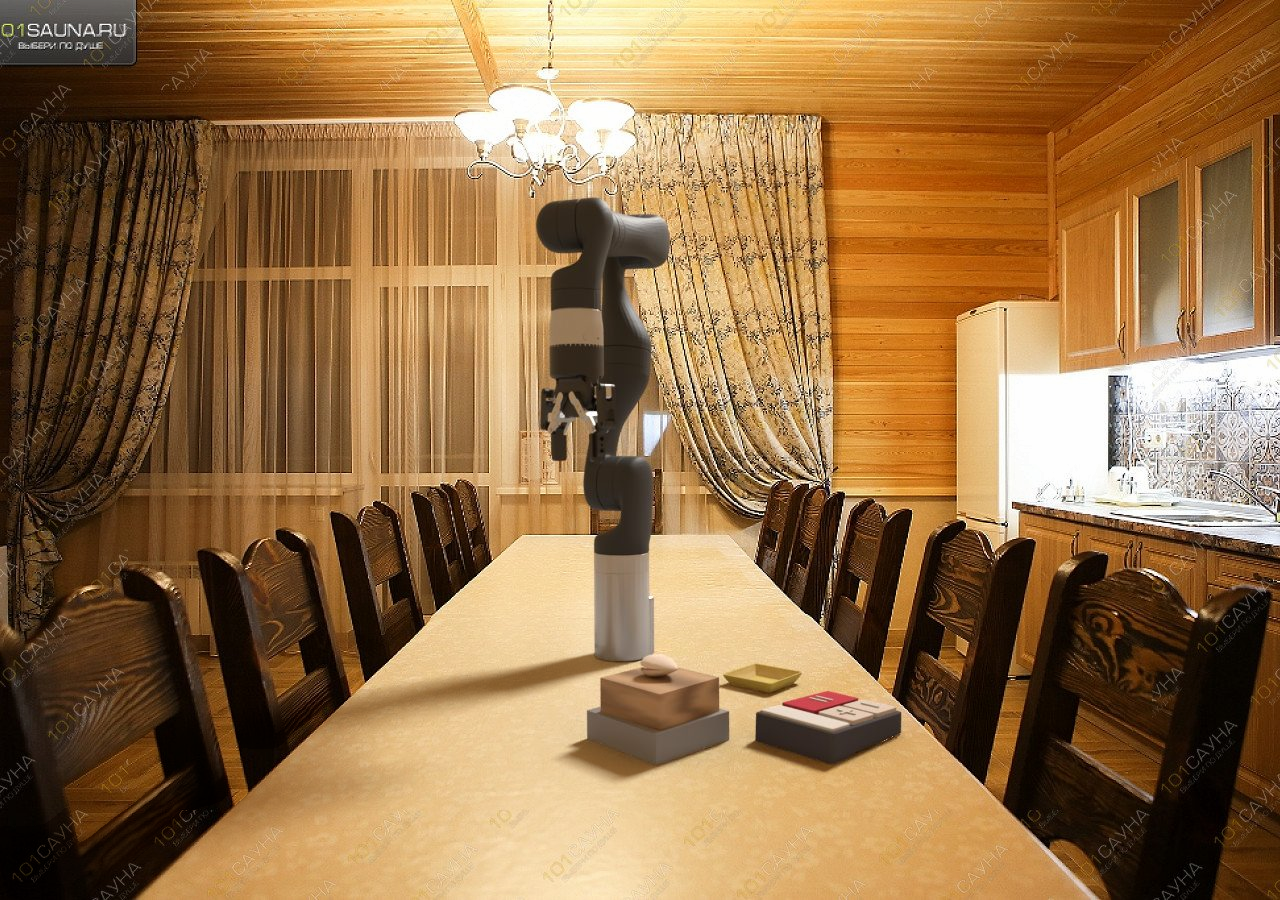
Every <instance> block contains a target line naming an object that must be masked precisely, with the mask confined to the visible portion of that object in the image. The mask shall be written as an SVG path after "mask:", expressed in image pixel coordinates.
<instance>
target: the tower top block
mask: <svg viewBox="0 0 1280 900" xmlns="http://www.w3.org/2000/svg"><path fill="white" fill-rule="evenodd" d="M641 668H643V666H641V667H638V668H634V669H629V670H626V671H625V670H624V671H621V672H618V673H614V674H610V675H606V676H602V677H599V679H600V681H599V682H600V683H599V685H600V689H599V690H600V691H599V692H600V697H599V698H600V707H601V712H604V713H608V714H611V715H614V716H617V717H620V718H623V719H626V720H629V721H632V722H636V723H639V724H642V725H645V726H648V727H651V728H654V729H657V730H663V729H666V728H669V727H672V726H675V725H678V724H681V723H684V722H688V721H691V720H694V719H697V718H700V717H703V716H706V715H709V714H712V713H715V712H718V711H719V708H720V677H718V676H715V675H710V674H707V673H702V672H699V671H694V670H691V669H686V668H681V667H678V670H677V671H675V672H672V673H670V674H668V675H664V676H652V677H651V676H647V675H646V674H644V673H643V672H641Z"/></svg>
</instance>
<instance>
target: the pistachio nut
mask: <svg viewBox="0 0 1280 900" xmlns="http://www.w3.org/2000/svg"><path fill="white" fill-rule="evenodd" d="M639 663H640V666H641V667H643V668H641V667H640V668H641V672H643V673H644V674H646V675H647V676H651V677H652V676H664V675H668V674H670V673H672V672H675V671H677V670H678V668H679V666H678V665H677V663H676V662H675V661H674V659H672V658H671V657H669V656H667V655H665V654H662V653H660V654H659V653H653V654H650V655H648V656H646V657H644V658H643V659H641V661H640V662H639Z"/></svg>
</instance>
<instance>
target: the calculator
mask: <svg viewBox="0 0 1280 900" xmlns="http://www.w3.org/2000/svg"><path fill="white" fill-rule="evenodd" d="M781 704H782V705H781ZM781 704H777V705H773V706H770V707H766V708H762V709H760V711H757V712H755V733H754V734H755V735H754V736H755V738H754V739H755V740H754V741H755V742H756V743H760V744H763V745H766V746H769V747H773V748H776V749H780V750H783V751H785V752H789V753H793V754H796V755H799V756H802V757H806V758H809V759H811V760H814V761H817V762H821V763H825V764H829V765H835V764H837V763H841V762H843V761H844V760H846V759H849V758H852V757H853V756H854V755H855V754H856V753H858V752H860V751H864V750H865V749H868V748H871V747H874V746H876V744H877V745H879V744H881V743H880V742H882V741H884V740H886V739H888V738H890V739H892V738H893V737H892V736H895V735H897V734H899V733H901V734H902V711H900V710H897V707H896V706H894V705H890V704H886V703H882V702H877V701H872V700H869V699H864V698H863V699H859V698H858V697H855V696H852V695H848V694H843V693H838V692H833V691H829V690H827V691H822V692H818V693H814V694H809V695H807V696H802V697H798V698H794V699H789V700H787V701H782V703H781ZM899 735H900V734H899ZM897 736H898V735H897ZM891 737H892V738H891ZM895 737H896V736H895ZM888 740H889V739H888ZM886 741H887V740H886ZM884 742H885V741H884ZM878 743H879V744H878ZM882 743H883V742H882Z"/></svg>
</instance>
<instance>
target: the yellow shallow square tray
mask: <svg viewBox="0 0 1280 900" xmlns="http://www.w3.org/2000/svg"><path fill="white" fill-rule="evenodd" d="M802 674H803V672H802V671H799V670H794V669H789V668H783V667H778V666H775V665H767V664H761V663H751V664H748V665H746V666H742V667H739V668H737V669H733V670H730V671H726V672H724V673H723V674H722V676H723V678H724V679H725V680H726V681H727V682H728V683H729V684H730V685H731V686H734V687H739V688H744V689H748V690H753V691H757V692H763V693H765V694H766V693H768V694H771V693H774V692H776V691H778V690H781V689H784V688H787V687H788V686H792V685H793V684H795V682H797V681H798V680H799V678H800V677H801V675H802Z"/></svg>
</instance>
